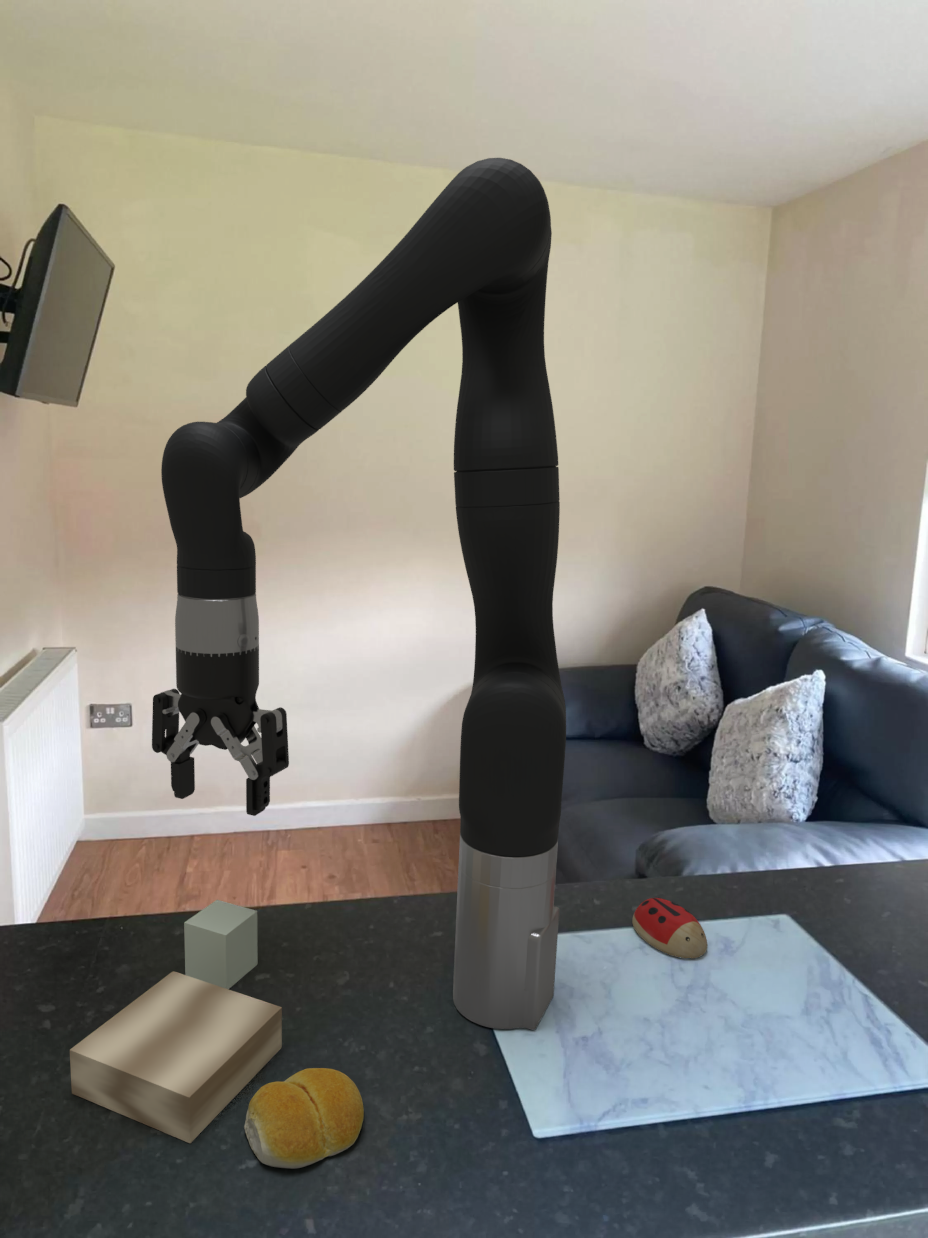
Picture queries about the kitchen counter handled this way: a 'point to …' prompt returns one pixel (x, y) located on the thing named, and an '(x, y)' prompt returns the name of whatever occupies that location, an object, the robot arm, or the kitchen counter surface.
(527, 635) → the robot arm
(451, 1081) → the kitchen counter surface
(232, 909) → the sage block
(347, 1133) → the bread roll
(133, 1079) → the birch plinth
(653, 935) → the ladybug figurine
